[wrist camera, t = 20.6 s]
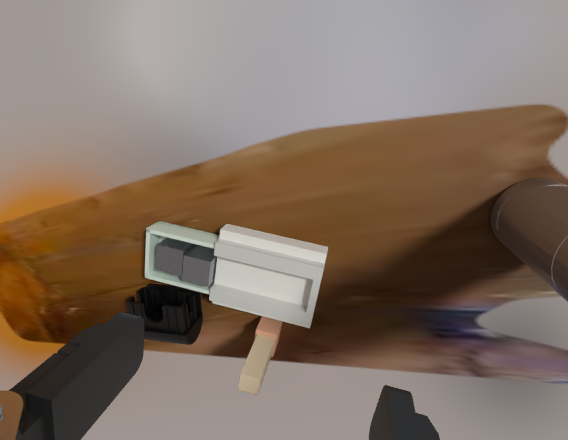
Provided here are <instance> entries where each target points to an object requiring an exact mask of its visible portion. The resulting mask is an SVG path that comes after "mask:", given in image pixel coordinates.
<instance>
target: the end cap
mask: <svg viewBox="0 0 568 440" xmlns="http://www.w3.org/2000/svg"><path fill="white" fill-rule="evenodd" d="M137 296H138V302H135V298H134V297H131V298H129V299H128V300H127V301H126V303H127V309H128V314H132V315H135V316H139V317H142V318H143V319H144V339H147V340H155V341H163V342H171V343H179V344H187V345H191V344H193V343H194V342H195V341H196V339H197V338H198V335H199V333H200V330H201V326H202V318H203V315H202V309H201V298H200V292H198V291H194V290H190V289H186V288H182V287H178V286H171V285H160V284H148V285H147V286H146V287H144V288H141V289H140V290H139V291H138V292H137Z"/></svg>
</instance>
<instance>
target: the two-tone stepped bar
mask: <svg viewBox="0 0 568 440" xmlns="http://www.w3.org/2000/svg"><path fill="white" fill-rule="evenodd" d="M281 326H282V321H279V320H275V319H272V318H268V317H264V316H262V317H261V320H260V322H259V324H258V326H257V329H256V333H255V339H254V343H253V345H252V348H251V350H250V352H249V355H248V357H247V359H246V362H245V364H244V367H243V369H242V371H241V374H240V379H239V386H238V390H241V391H244V392H248V393H251V394H255V395H258V393H259V390H260V387H261V384H262V381H263V378H264V375H265V372H266V369H267V366H268V363H269V360H270V357H273V356H274V353H275V350H276V347H277V344H278V341H279V336H280V331H281Z"/></svg>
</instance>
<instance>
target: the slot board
mask: <svg viewBox="0 0 568 440" xmlns="http://www.w3.org/2000/svg"><path fill="white" fill-rule="evenodd" d="M327 251H328V247H326V246H322V245H317V244H313V243H308V242H304V241H300V240H295V239H291V238H287V237H282V236H278V235H273V234H269V233H265V232H260V231H256V230H252V229H247V228H243V227H239V226H234V225H230V224H226V225H225V226H223V227H222V228H221V229H220V237H219V239H218V240H217V241H216V242H215V249H214V256H217V264H216V273H215V282H214V284H213V286H212V287H211V288H210V296H209V300H210V301H212V303H214V304H218V305H222V306H226V307H230V308H233V309H237V310H241V311H245V312H249V313H253V314H256V315H260V316H264V317H268V318H272V319H275V320H279V321H283V322H287V323H291V324H295V325H298V326H302V327H306V328H310V327H311V322H312V318H313V314H314V309H315V305H316V300H317V296H318V292H319V287H320V283H321V279H322V274H323V270H324V265H325V260H326V256H327Z"/></svg>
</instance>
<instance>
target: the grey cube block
mask: <svg viewBox="0 0 568 440" xmlns="http://www.w3.org/2000/svg"><path fill="white" fill-rule="evenodd" d="M216 264H217V256H214V249H212V248H208V247H204V246H200V245H195V246H194V247H193V248H192V249H190V250H189V251H188V252H187V253H186V254H185V255H184V259H183V271H182V281H186V282H190V283H194V284H198V285H201V286H205V287H209V286H210V284H211V283H212V282H213V281H214V279H215V273H216Z"/></svg>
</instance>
